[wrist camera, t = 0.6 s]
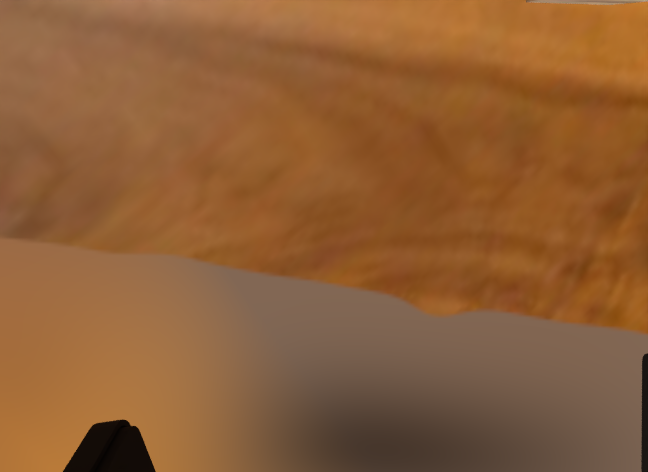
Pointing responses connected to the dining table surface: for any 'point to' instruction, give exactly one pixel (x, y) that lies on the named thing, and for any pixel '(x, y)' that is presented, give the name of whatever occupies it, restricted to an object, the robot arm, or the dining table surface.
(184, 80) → the dining table surface
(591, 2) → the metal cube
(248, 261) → the dining table surface
